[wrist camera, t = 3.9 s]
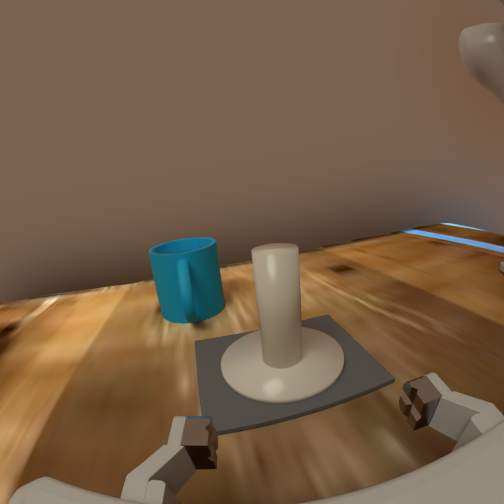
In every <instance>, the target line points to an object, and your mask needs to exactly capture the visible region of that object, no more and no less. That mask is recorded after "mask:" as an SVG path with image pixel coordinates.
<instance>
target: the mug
mask: <svg viewBox="0 0 504 504" xmlns="http://www.w3.org/2000/svg"><path fill="white" fill-rule="evenodd" d="M149 255H150V261H151V266H152V271H153V276H154V281H155V285H156V290H157V295H158V299H159V303H160V308H161V312H162V316H163V317H164V318H165V319H166V320H168V321H170V322H173V323H183V324H184V323H195V322H199V321H203V320H207V319H209V318H211V317H214V316H215V315H217V314H218V313H220V312H221V311H222V310H223V308H224V306H225V302H224V295H223V288H222V281H221V274H220V267H219V260H218V252H217V244H216V240H215V239H212V238H204V237H200V238H188V239H180V240H175V241H170V242H166V243H163V244H160V245H157V246H155V247H153V248H151V249H150V250H149Z"/></svg>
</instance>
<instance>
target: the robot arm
mask: <svg viewBox="0 0 504 504" xmlns="http://www.w3.org/2000/svg"><path fill="white" fill-rule="evenodd" d="M496 1H498V2H500V3H502V4H504V0H496ZM459 52H460V57H461V60H462V62H463V65H464V66H465V68H466V70H467V71H468V73H469V74H470V75H471V77H472V78H473V79H474V80H475V81H476V82H477V83H478V84H480V85H481V86H482V87H484V88H486V89H487V90H488V91H489V92H491V93H492V94H493V95H494V96H495V97H496V98H497V99H498V100H499V101H500V103H501V104H502V105H503V107H504V23H484V24H480V25H476V26H472V27H469V28H466V29H463V31H462V32H461V35H460V38H459ZM499 269H500V270H501V271H502V272H503V273H504V262H501V263H500V267H499ZM403 390H404V392H403V394H402V395H401V396H400V400H399V407H400V410H401V412H402V414H403V415H405V416H407V417H408V419H407V422H408V423H409V425H410V427H411V428H412V430H413V431H414V430H417V429H420V428H422V427H425V426H427V425H429V426H430V427H432V428H433V429H435V430H437V431H439V432H441V433H442V434H444V435H446V436H448V437H450V438H452V439H453V440H455V441H457V443H456V445H455V446H454V448H453V450H452V452H451V453H449V454H448V455H446V456H444V457H442V458H440V459H438V460H436V461H434V462H431V463H429V464H427V465H425V466H423V467H421V468H418V469H416V470H414V471H411V472H409V473H406V474H404V475H401V476H399V477H396V478H394V479H391V480H388V481H385V482H382V483H380V484H377V485H373V486H370V487H367V488H364V489H360V490H357V491H353V492H350V493H346V494H342V495H338V496H334V497H329V498H325V499H320V500H315V501H310V502H304V503H298V504H504V416H503V415H502V414H501V412H500V411H499V410H498V409H497V408H496V407H495V406H494V405H493V404H492V403H489V402H486V401H483V400H480V399H476V398H473V397H470V396H467V395H464V394H461V393H458V392H455V391H454V392H451V390H450V389H449V388H448V387H447V386H446V385H445V384H444V382H443V381H442V380H441V379H440V378H439V377H438V376H437V374H436V373H433V372H432V373H430V374H427V375H424V376H421V377H419V378H416V379H413V380H410V381H407V382H405V384H404V385H403ZM213 425H214V421H213V418H212V417H211V416H175V417H174V419H173V422H172V427H171V431H170V435H169V439H168V444H167V445H163V446H162V447H161V448H160V449H159V450H157V451H156V452H155V453H154V454H153V455H151V456H150V457H149V458H148V459H147V460H145V461H144V462H143V463H142V464H141V465H139V466H138V467H137V468H136V469H134V470H133V471H132V472H131V473H129V474H128V475H127V477H126V481H125V484H124V487H123V491H122V494H121V498H115V497H111V496H107V495H103V494H99V493H96V492H92V491H89V490H85V489H82V488H79V487H76V486H73V485H70V484H67V483H64V482H61V481H59V480H56V479H53V478H50V477H42V478H39V479H37V480H35V481H32V482H30V483H28V484H26V485H24V486H22V487H20V488H19V489H18V490H17V491H16V492H15V493H14V495H13V496H12V497H11V499H10V501H9V503H8V504H181V503H180V502H179V501H178V499H177V498H176V497H175V495H176V494H177V493H178V492H179V491H180V489H181V488H182V487H183V486H184V485H185V484H186V482H187V481H188V480H189V479H190V478H191V476H192V475H193V474H194V473H195V472H196V469H217V454H216V450H217V449H218V436H217V431H216V428H214V427H213Z"/></svg>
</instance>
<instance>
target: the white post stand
mask: <svg viewBox="0 0 504 504" xmlns="http://www.w3.org/2000/svg"><path fill="white" fill-rule="evenodd" d="M252 260H253V269H254V279H255V289H256V298H257V308H258V318H259V327H260V330H258V331H255V332H252V333H250V334H247V335H245V336H243V337H241V338H240V339H238V340H236V341H235V342H234V343H232V344H231V345H230V346H229V347H228V348H227V350H226V351H225V353H224V354H223V357H222V359H221V370H222V375H223V378H224V380H225V382H226V384H227V385H228V386H229V387H230V388H231V389H232V390H233V391H234V392H235V393H237V394H239V395H240V396H242V397H244V398H246V399H249V400H252V401H255V402H259V403H265V404H275V405H279V404H292V403H298V402H302V401H306V400H309V399H311V398H314V397H316V396H318V395H320V394H322V393H324V392H325V391H327V390H328V389H329V388H330V387H332V386H333V385H334V384H335V383H336V381H337V380H338V379H339V377H340V376H341V373H342V371H343V366H344V353H343V350H342V348H341V346H340V345H339V343H338V342H337V341H336V340H335V339H334V338H332V337H331V336H329V335H327V334H325V333H323V332H321V331H318V330H315V329H311V328H306V327H302V323H301V294H300V272H299V253H298V246H297V245H294V244H288V243H274V244H266V245H262V246H258V247H256V248H254V249H252Z"/></svg>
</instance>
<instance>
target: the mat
mask: <svg viewBox="0 0 504 504" xmlns="http://www.w3.org/2000/svg"><path fill="white" fill-rule="evenodd" d="M301 323H302V327H306V328H311V329H315V330H318V331H321V332H323V333H325V334H327V335H329V336H331V337H332V338H334V339H335V340H336V341H337V342H338V343H339V345H340V346H341V348H342V350H343V353H344V366H343V371H342V373H341V376H340V377H339V379H338V380H337V381H336V383H335V384H334V385H333V386H332V387H330V388H329V389H328V390H327V391H325V392H324V393H322V394H320V395H318V396H316V397H314V398H311V399H309V400H306V401H302V402H298V403H292V404H279V405H275V404H265V403H259V402H255V401H252V400H249V399H246V398H244V397H242V396H240V395H239V394H237V393H235V392H234V391H233V390H232V389H231V388H230V387H229V386H228V385H227V384H226V382H225V380H224V378H223V375H222V370H221V359H222V357H223V354H224V353H225V351H226V350H227V348H228V347H229V346H230V345H231V344H232V343H234V342H235V341H236V340H238V339H240V338H241V337H243V336H245V335H247V334H250V333H252V332H255V331H251V332H245V333H240V334H235V335H229V336H223V337H217V338H211V339H205V340H199V341H195V351H196V363H197V374H198V385H199V394H200V404H201V412H202V416H211V417H212V418H213V421H214V425H213V427H214V428H216V431H217V435H220V434H226V433H232V432H238V431H243V430H248V429H253V428H257V427H262V426H266V425H270V424H274V423H278V422H282V421H286V420H290V419H294V418H297V417H301V416H304V415H307V414H311V413H314V412H317V411H320V410H323V409H326V408H329V407H332V406H335V405H338V404H341V403H344V402H346V401H349V400H352V399H354V398H357V397H360V396H362V395H365V394H367V393H370V392H372V391H374V390H377V389H379V388H381V387H384V386H386V385H388V384H390V383H393V382H394V379H395V378H394V377H393V376H392V375H391V374H390V373H389V372H388V371H387V370H386V369H385V368H384V367H383V366H382V365H381V364H379V363H378V362H377V361H376V360H375V359H374V358H373V357H372V356H371V355H370V354H369V353H368V352H367V351H366V350H365V349H364V348H363V347H362V346H361V345H360V344H359V343H358V342H356V341H355V340H354V339H353V338H352V337H351V336H350V335H349V334H348V333H347V332H346V331H345V330H344V329H343V328H342V327H341V326H340V325H339V324H338V323H337V322H336V321H334V320H333V319H332V318H331V317H330V316H329V315H324V316H320V317H315V318H311V319H307V320H303V321H301ZM256 331H258V330H256Z"/></svg>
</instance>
